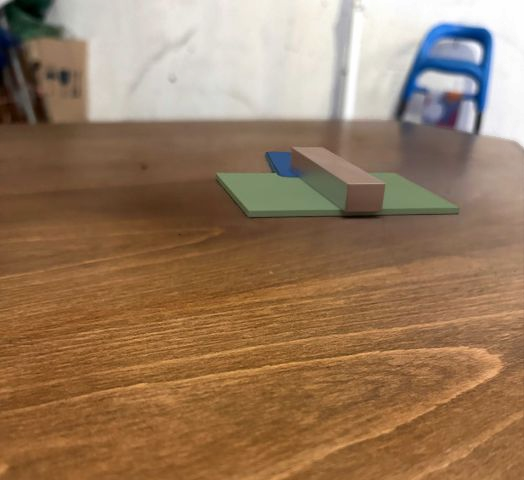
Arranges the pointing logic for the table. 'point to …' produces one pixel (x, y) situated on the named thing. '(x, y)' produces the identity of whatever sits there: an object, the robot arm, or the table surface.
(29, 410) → the table surface
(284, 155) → the smartphone
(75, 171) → the table surface
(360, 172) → the strip
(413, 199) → the mat
